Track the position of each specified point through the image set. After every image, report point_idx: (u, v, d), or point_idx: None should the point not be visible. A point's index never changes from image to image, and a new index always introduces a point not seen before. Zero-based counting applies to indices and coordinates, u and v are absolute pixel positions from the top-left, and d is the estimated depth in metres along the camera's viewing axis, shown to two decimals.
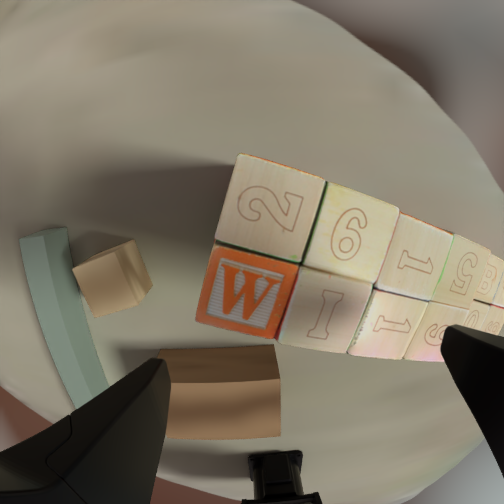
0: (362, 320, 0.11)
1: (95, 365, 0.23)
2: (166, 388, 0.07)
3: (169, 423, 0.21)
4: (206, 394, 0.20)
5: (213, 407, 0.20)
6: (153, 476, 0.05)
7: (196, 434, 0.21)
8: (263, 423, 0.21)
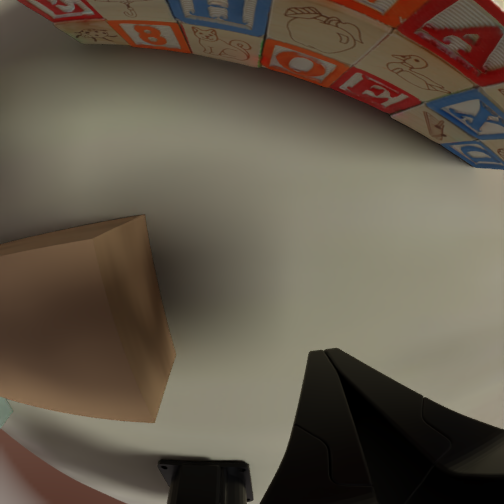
0: None
1: None
2: None
3: None
4: None
5: (9, 325, 0.08)
6: None
7: (17, 391, 0.09)
8: (102, 382, 0.09)
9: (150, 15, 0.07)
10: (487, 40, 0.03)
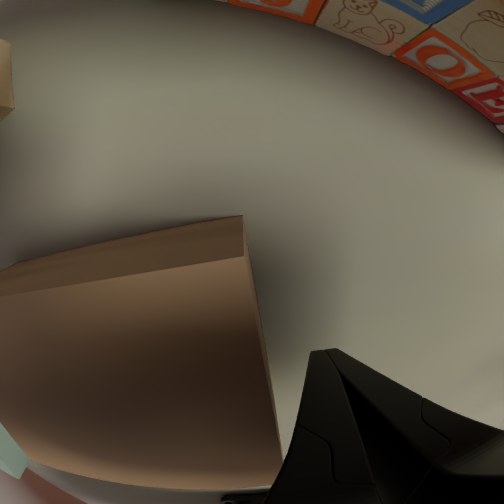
0: None
1: None
2: None
3: (11, 427, 0.06)
4: (22, 342, 0.05)
5: (57, 392, 0.05)
6: None
7: (69, 463, 0.06)
8: (222, 455, 0.06)
9: None
10: None
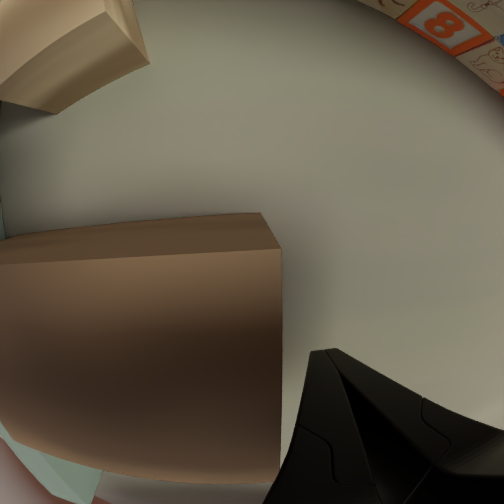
0: None
1: None
2: None
3: None
4: (25, 316, 0.05)
5: (56, 371, 0.05)
6: None
7: (55, 447, 0.06)
8: (222, 448, 0.06)
9: (487, 20, 0.04)
10: None
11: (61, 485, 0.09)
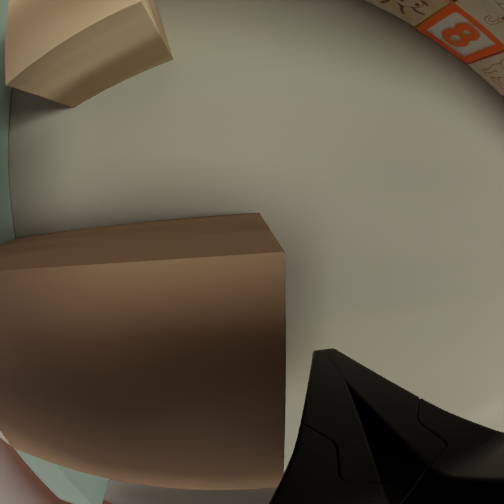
0: None
1: None
2: None
3: None
4: (21, 323, 0.05)
5: (53, 380, 0.05)
6: None
7: (54, 454, 0.06)
8: (224, 456, 0.06)
9: (502, 32, 0.05)
10: None
11: (70, 490, 0.09)
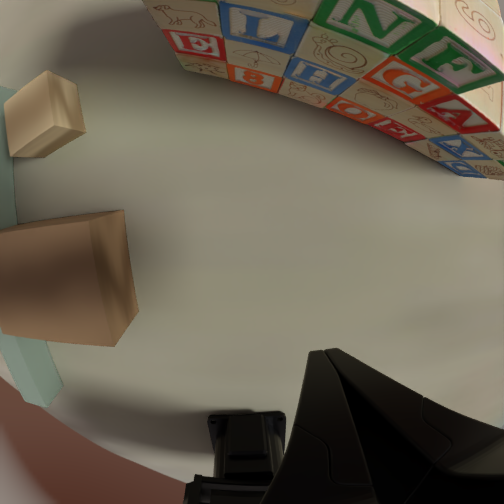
0: None
1: None
2: None
3: None
4: (18, 251, 0.13)
5: (27, 275, 0.13)
6: None
7: (22, 327, 0.14)
8: (84, 314, 0.14)
9: (266, 70, 0.12)
10: (464, 116, 0.09)
11: (30, 385, 0.17)
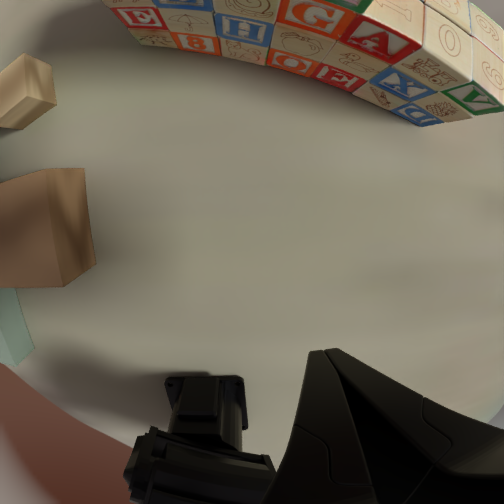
0: None
1: None
2: None
3: None
4: None
5: None
6: None
7: None
8: (39, 256, 0.14)
9: (201, 31, 0.13)
10: (382, 39, 0.09)
11: (1, 342, 0.17)
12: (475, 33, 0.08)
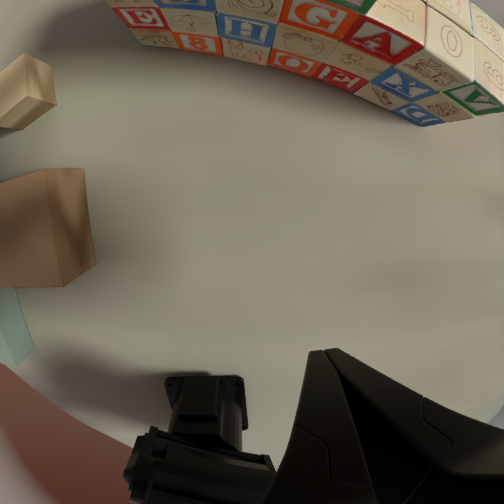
0: None
1: None
2: None
3: None
4: None
5: None
6: None
7: None
8: (39, 256, 0.14)
9: (203, 31, 0.13)
10: (384, 39, 0.09)
11: (2, 342, 0.17)
12: (476, 33, 0.08)
